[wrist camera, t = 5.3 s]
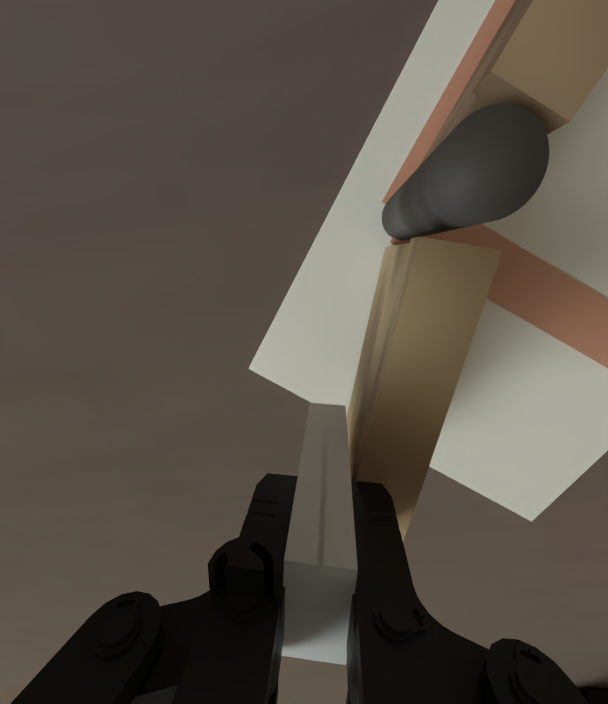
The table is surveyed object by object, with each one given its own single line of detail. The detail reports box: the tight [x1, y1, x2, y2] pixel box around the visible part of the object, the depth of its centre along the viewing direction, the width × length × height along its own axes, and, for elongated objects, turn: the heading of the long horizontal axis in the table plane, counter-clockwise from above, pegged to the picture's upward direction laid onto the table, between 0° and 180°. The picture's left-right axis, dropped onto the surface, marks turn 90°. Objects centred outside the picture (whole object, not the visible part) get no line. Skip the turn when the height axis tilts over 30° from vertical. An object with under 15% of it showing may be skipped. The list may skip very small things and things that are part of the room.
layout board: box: [249, 0, 608, 521], centre depth 14 cm, size 22×18×1 cm
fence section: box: [382, 0, 608, 240], centre depth 8 cm, size 12×2×8 cm, turn 152°
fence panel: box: [346, 237, 503, 541], centre depth 12 cm, size 11×2×7 cm, turn 171°
